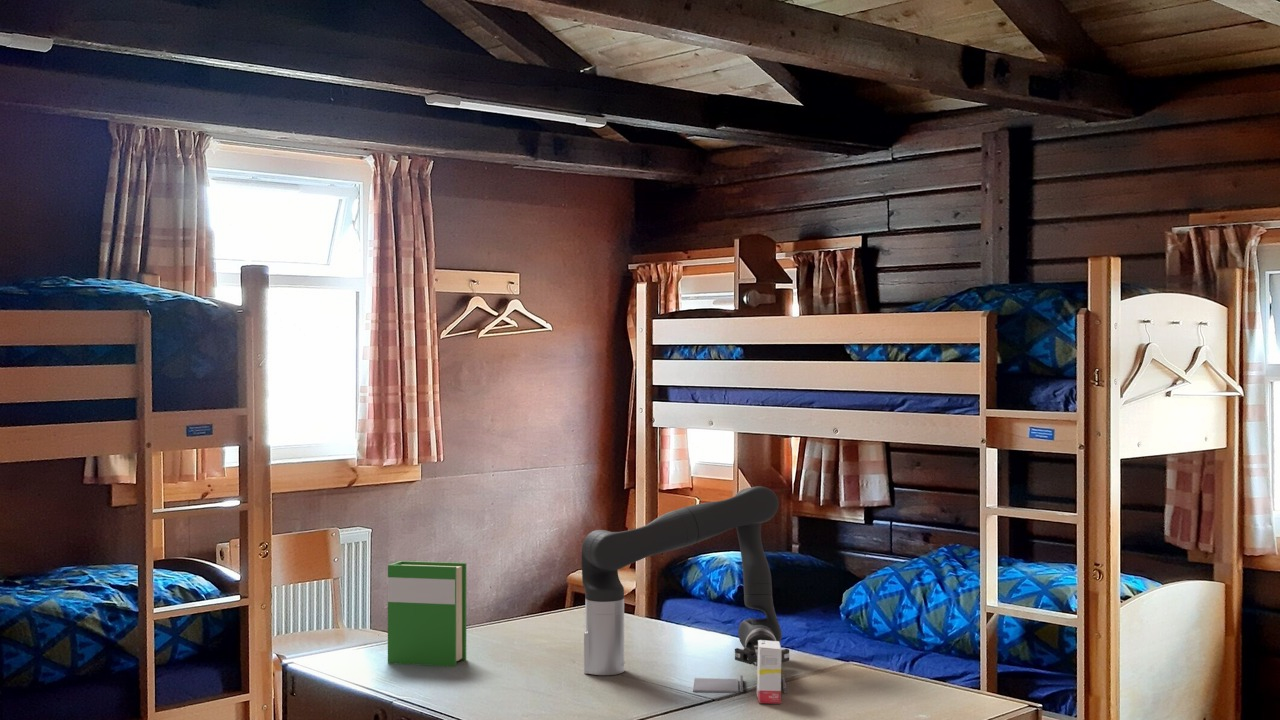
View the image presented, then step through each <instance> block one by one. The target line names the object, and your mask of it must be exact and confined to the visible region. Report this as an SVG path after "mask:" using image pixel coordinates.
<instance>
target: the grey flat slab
mask: <svg viewBox="0 0 1280 720" xmlns="http://www.w3.org/2000/svg"><path fill="white" fill-rule="evenodd" d="M739 677H740V679H739V678H713V677H712V678H705V677H704V678H703V677H701V678H700V677H695V678H694V680H693V681H694V682H693V688H692V693H730V694H731V693H733V694H734V692H737V694H738V693H739V683H740V693H741V692H743V693H744V681H743V680H744V678H743V675H740V676H739ZM739 680H740V682H739ZM782 683H783V684H782ZM781 684H782V688H783V689H784V690H783V694H787V684H786V677H785V675H781Z"/></svg>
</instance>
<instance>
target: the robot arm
mask: <svg viewBox="0 0 1280 720" xmlns="http://www.w3.org/2000/svg"><path fill="white" fill-rule="evenodd" d="M779 501H780V500H779V499H778V496H777V494H776V493H775V492H774V491H773V490H771V489H770V488H768V487H765V486H761V485H757V486H751V487H747V488H743V489H740V491H739V490H738V492H737V493H736V494H735V495H734V496H731V497H729V498H726V499H723V500H721V499H720V500H718V501H709V502H703V503H698V504H692V505H689V506H683V507H681V508H678V509H675V510H674V509H673V510H671V511H668V512H665V513H664V514H662V515H659V516H657V517H656V518H655V519H654V520H652V521H650V522H649V523H646V524H645V525H643V526H641V527H638V528H632V529H627V530H624V531H609V530H605V529H595V530H593V531H591V532H590V533H588V534H587V535H586V536H585V538H584V540H583V542H582V545H581V555H580V556H581V578H582V585H583V588H584V592H585V593H584V594H585V595H584V597H585V598H584V599H585V609H584V610H585V615H584V616H585V617H584V618H585V619H584V620H585V625H584V626H585V631H584V633H583V643H584V644H583V650H584V651H583V656H584V657H583V660H584V661H583V665H584V667H583V668H584V669H583V670H584V671H583V673H584V674H589V675H594V676H595V675H596V676H613V675H619V674H622V673H624V672H625V664H626V663H625V588H624V586H623V584H622V583H621V579H620V576H619V570H620V569H623V568H625V567H627V566H629V565H631V564H633V563H636V562H639V561H640V560H643V559H646V558H648V557H650V556H654V555H660V554H664V553H668V552H671V551H674V550H679V549H682V548H685V547H689V546H691V545H695V544H697V543H701V542H703V541H706V540H708V539H711V538H713V537H716V536H718V535H721V534H723V533H725V532H727V531H729V530H732V529H736V533H737V538H738V544H739V550H740V555H741V565H742V577H743V578H742V579H743V582H742V583H743V595H744V596H743V601H744V605H745V607H746V608H747V609H753V610H758V611H761V612H763V613H764V614H765V617H764V618H762V617H761V618H746V619H744V620H742V621H741V622H740V624H739V626H738V628H737V629H738V639H739V642H740V643H741V646H742V647H743V648H739V647H736V648H734V660H735V661H737V662H741V663H745V664H748V665H753V666H755V667H757V660H758V640H767V641H779V642H780V643H781V640H782V639H783V638H782V637H783V636H782V628H781V625H780V622H779V621H778V620H779V619H778V618H777V614H776V610H775V606H774V599H773V585H772V583H773V582H772V573H771V569H770V565H769V562H768V559H767V557H766V556H767V555H766V553H765V552H764V547H763V542H762V531H761V530H762V524H763V523H764V524H765V523H767V522H768V521H770V520H771V519H772V518H774V517H775V515H776V514H777V512H778V510H779V509H778V508H779V504H780V503H779ZM789 661H790V649H788V648H785V649H784V648H783V649H781V664H782V663H785V662H789Z"/></svg>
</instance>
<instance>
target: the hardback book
mask: <svg viewBox="0 0 1280 720" xmlns="http://www.w3.org/2000/svg"><path fill="white" fill-rule="evenodd" d="M458 661H460V662H461V661H462V662H464V661H467V562H452V561H450V562H445V561H417V560H415V561H414V560H413V561H412V560H400V561H399V560H398V561H395V562H394V563H390V564H388V565H387V664H394V663H396V665H397V664H399V665H413V664H420V665H419V666H432V665H433V666H434V667H436V666H437V667H457V662H458Z"/></svg>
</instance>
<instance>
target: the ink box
mask: <svg viewBox="0 0 1280 720" xmlns="http://www.w3.org/2000/svg"><path fill="white" fill-rule="evenodd" d="M781 650H782V646H781V641H780V642H779V641H767V640H758V660H757V666H756V696H757V700H758V703H759V704H773V705H774V704H776V705H781V703H782V701H781V700H782V697H781V695H782V663H781Z"/></svg>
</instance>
